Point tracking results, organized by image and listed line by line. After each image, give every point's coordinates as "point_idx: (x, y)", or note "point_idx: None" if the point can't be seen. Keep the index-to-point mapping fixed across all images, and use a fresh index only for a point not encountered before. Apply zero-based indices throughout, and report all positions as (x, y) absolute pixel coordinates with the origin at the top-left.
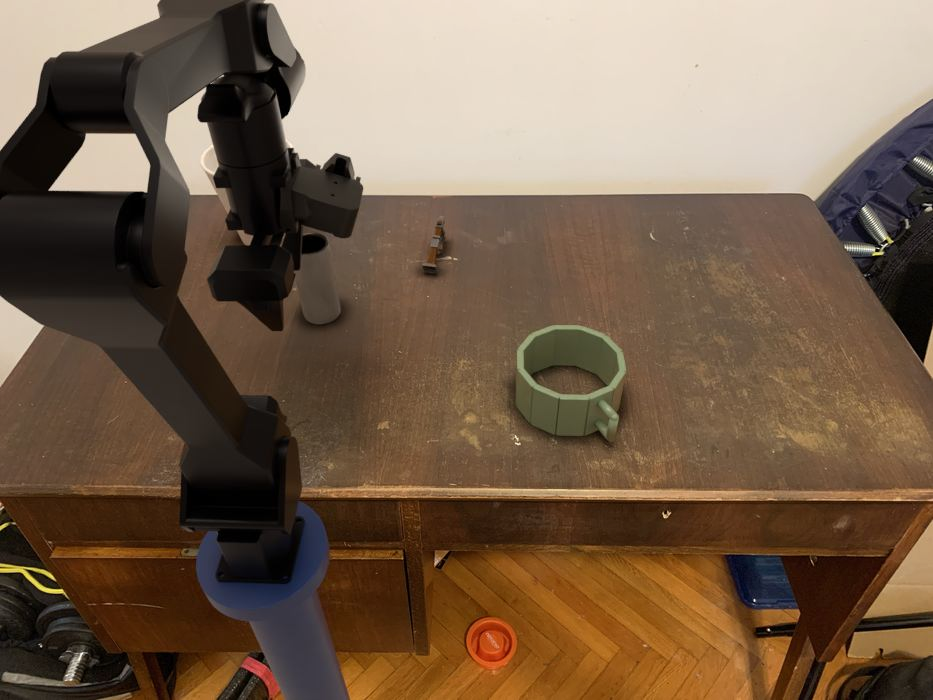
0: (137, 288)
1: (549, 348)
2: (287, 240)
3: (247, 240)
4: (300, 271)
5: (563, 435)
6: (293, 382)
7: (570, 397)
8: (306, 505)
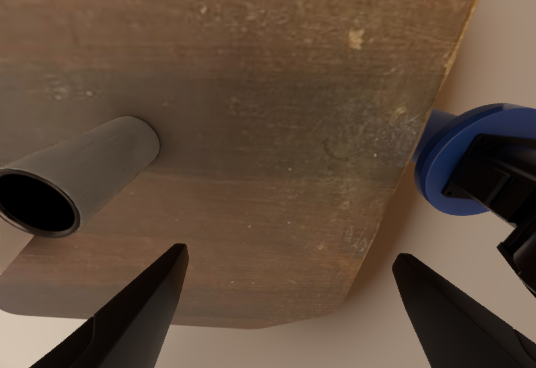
0: None
1: None
2: (140, 351)
3: (29, 238)
4: (107, 198)
5: None
6: (262, 162)
7: None
8: (458, 133)
